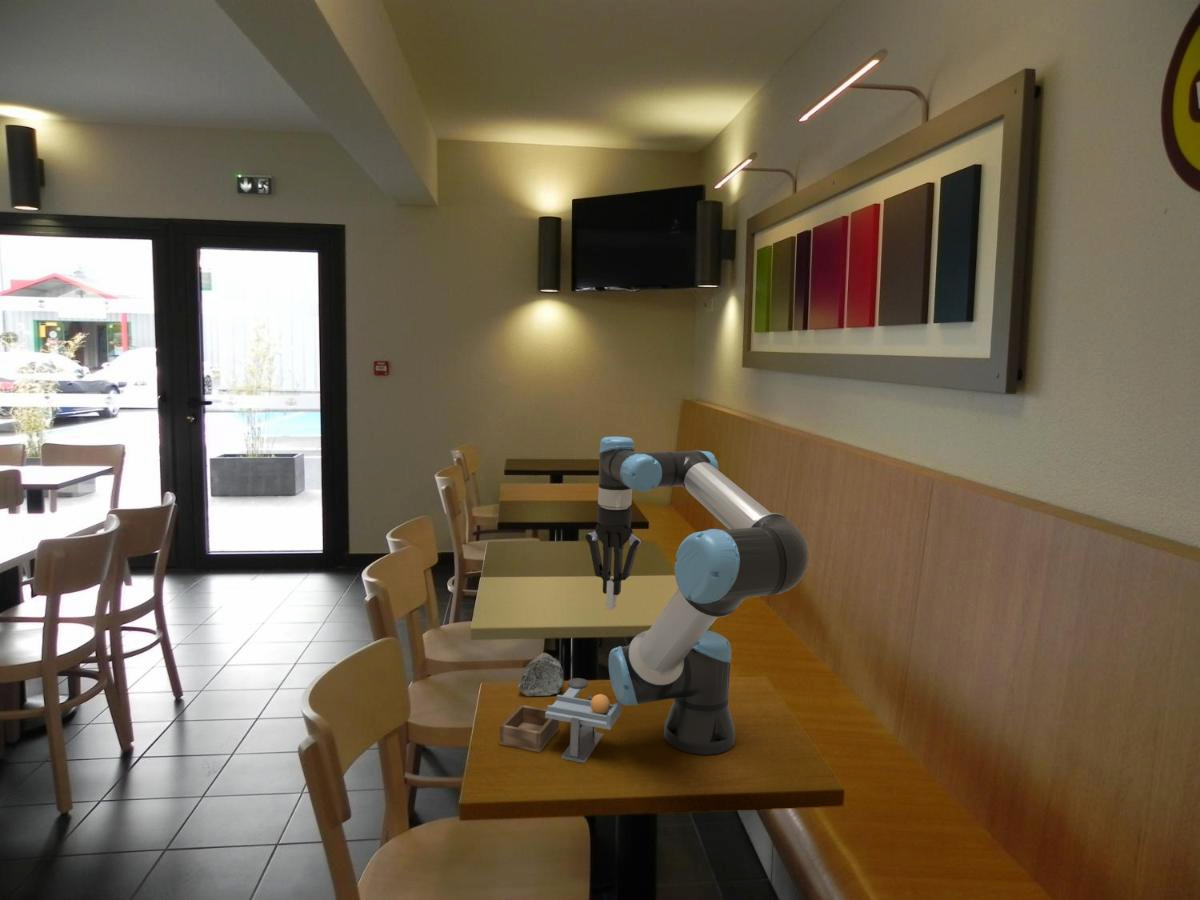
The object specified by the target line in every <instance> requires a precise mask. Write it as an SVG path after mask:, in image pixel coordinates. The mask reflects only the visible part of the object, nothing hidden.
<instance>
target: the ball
mask: <svg viewBox="0 0 1200 900" xmlns="http://www.w3.org/2000/svg"><path fill="white" fill-rule="evenodd" d="M592 697H593V698H592V700H591V709H592V710H593V712H594V713H596V714H604V713H606V712H607V711H608V710H609V707H610V704H611V702H610V699H609V697H608V696H606V695H605V694H602V693H599V694H596V695H594V696H592Z"/></svg>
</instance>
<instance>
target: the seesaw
mask: <svg viewBox="0 0 1200 900" xmlns="http://www.w3.org/2000/svg"><path fill="white" fill-rule="evenodd" d="M567 681H568V682H567V685H568V687H569V688H568V689H567V690H566V691H565V692H564V693H563V694H556V700H555V701H554V703H552V704H551V705H550V704H547V706H546V707H547V712H546V713H545V718H550V719H555V720H559V722H561V721H562V722H567V723H571V718H572V717H574V718H579V719H580V724H582V725H587V726H592V727H595V728H599V729H604V730H609V731H610V730H611V729H612V728H613V727H614V725H615V723H616V722H617V721H618V719H619V717H620V716H621V715H622V712H623V711H622V710H623V704H621V703H620V702H619V701H618V699H616V702H615V703H614V704H612V703H610V707H609V710H608V711H607V712H606V713H604V714H596V713H594V712H593V710H592V709H591V701H590V700H588V699H585V698H578V696H579V695H580V693H581V692H582V691H583V690H584V689H586V688H587V687H588V686H589V685H588V683H589V682H588V680H587V679H585V678H580V677H575V678H574V677H573V678H570V679H568V680H567Z"/></svg>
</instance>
